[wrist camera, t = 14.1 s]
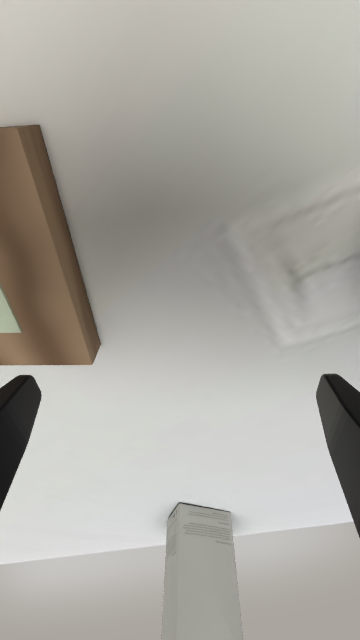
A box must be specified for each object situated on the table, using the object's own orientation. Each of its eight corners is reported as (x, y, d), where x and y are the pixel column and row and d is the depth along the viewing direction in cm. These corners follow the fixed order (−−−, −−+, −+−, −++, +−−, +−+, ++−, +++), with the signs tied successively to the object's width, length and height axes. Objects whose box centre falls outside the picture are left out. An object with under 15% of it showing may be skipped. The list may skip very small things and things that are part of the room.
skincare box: (166, 517, 46) (154, 673, 34) (179, 499, 43) (170, 667, 30) (217, 527, 47) (223, 681, 35) (234, 511, 44) (248, 676, 31)
